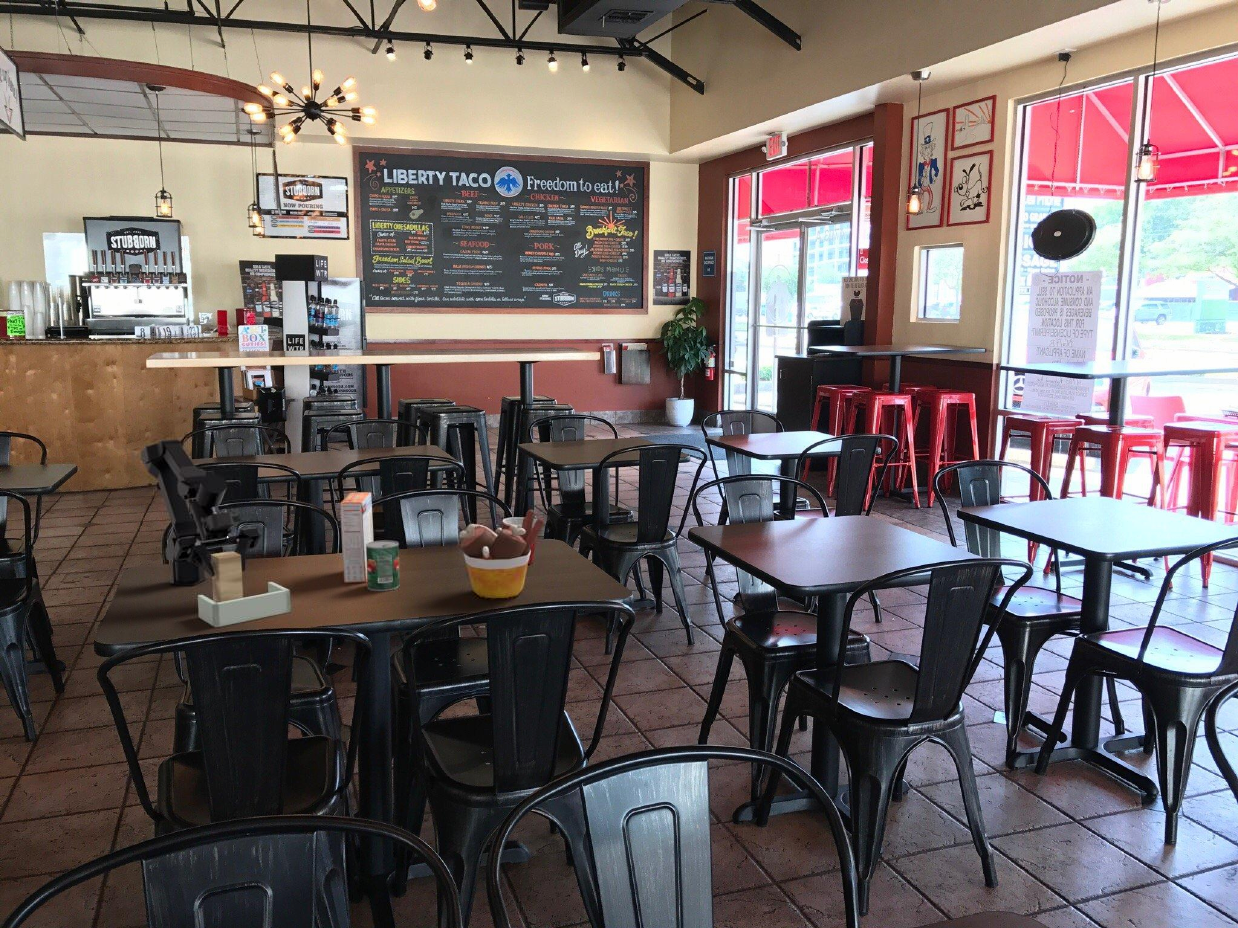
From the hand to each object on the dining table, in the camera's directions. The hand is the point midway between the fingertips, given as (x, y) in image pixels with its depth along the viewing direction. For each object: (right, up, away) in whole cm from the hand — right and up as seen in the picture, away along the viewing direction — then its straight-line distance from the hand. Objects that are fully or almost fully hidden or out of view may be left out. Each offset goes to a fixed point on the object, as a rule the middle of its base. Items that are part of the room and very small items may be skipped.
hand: (228, 573), depth 224 cm
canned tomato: (+31, -6, +18) cm, 36 cm away
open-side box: (+6, -9, -5) cm, 12 cm away
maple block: (-1, -8, +2) cm, 8 cm away
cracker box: (+23, -4, +28) cm, 36 cm away
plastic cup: (+64, -2, +42) cm, 76 cm away
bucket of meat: (+61, -6, +13) cm, 63 cm away
